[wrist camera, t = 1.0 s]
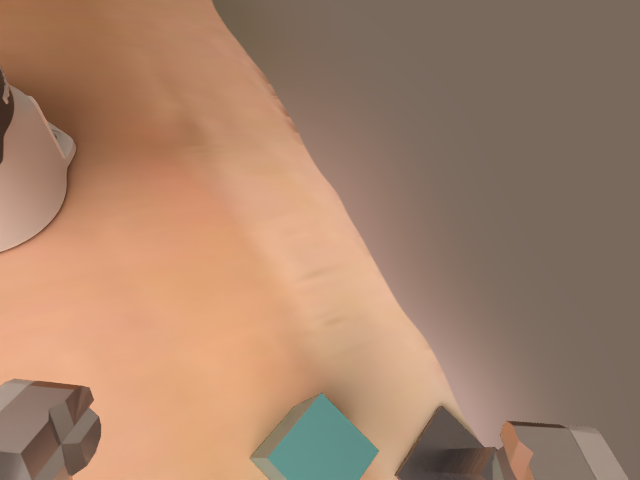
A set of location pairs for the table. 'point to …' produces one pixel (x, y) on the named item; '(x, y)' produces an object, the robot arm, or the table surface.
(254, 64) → the table surface
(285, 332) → the table surface
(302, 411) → the teal upright pillar
